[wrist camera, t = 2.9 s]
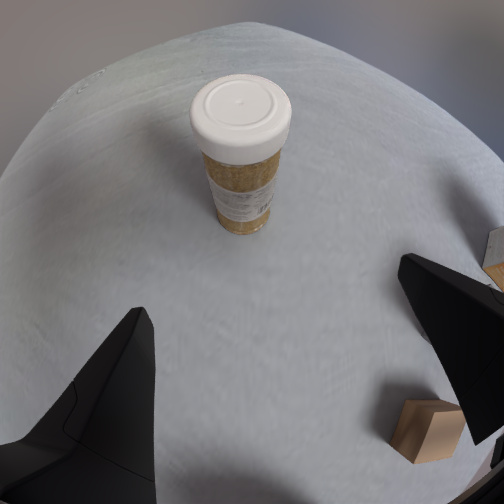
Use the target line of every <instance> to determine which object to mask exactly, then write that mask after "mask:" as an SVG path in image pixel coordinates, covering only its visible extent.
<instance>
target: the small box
mask: <svg viewBox="0 0 504 504" xmlns="http://www.w3.org/2000/svg"><path fill="white" fill-rule="evenodd" d="M482 269H483V270H484V271H485V272H486V273H487V274H488V275H489V276H490V277H491V278H492V279H493V280H494V281H495V283H496V284H497V285H498V286H499V287H500V289H501V290H502V291H503V292H504V226H502V227H499V228H497V229H495V230H493V231H490V233H489V239H488V244H487V249H486V254H485V258H484V262H483V267H482Z"/></svg>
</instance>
